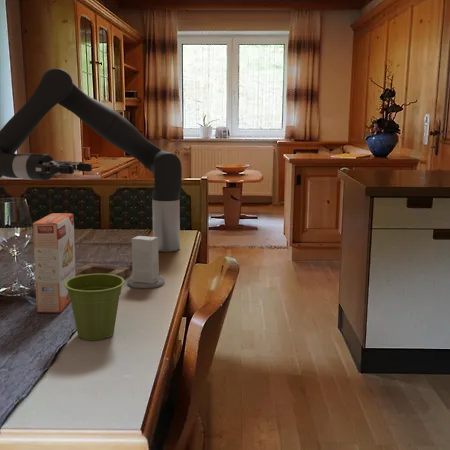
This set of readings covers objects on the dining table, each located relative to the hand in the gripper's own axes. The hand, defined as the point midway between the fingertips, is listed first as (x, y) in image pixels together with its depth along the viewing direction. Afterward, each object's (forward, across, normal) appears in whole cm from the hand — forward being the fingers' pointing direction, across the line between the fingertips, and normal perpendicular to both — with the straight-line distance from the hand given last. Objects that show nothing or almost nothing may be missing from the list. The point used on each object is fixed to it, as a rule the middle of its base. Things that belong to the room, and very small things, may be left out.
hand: (82, 168), depth 145 cm
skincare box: (+20, -2, +30) cm, 36 cm away
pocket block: (+6, -4, +30) cm, 31 cm away
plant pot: (+27, -37, +30) cm, 55 cm away
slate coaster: (+20, -2, +30) cm, 36 cm away
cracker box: (+8, -24, +30) cm, 39 cm away
